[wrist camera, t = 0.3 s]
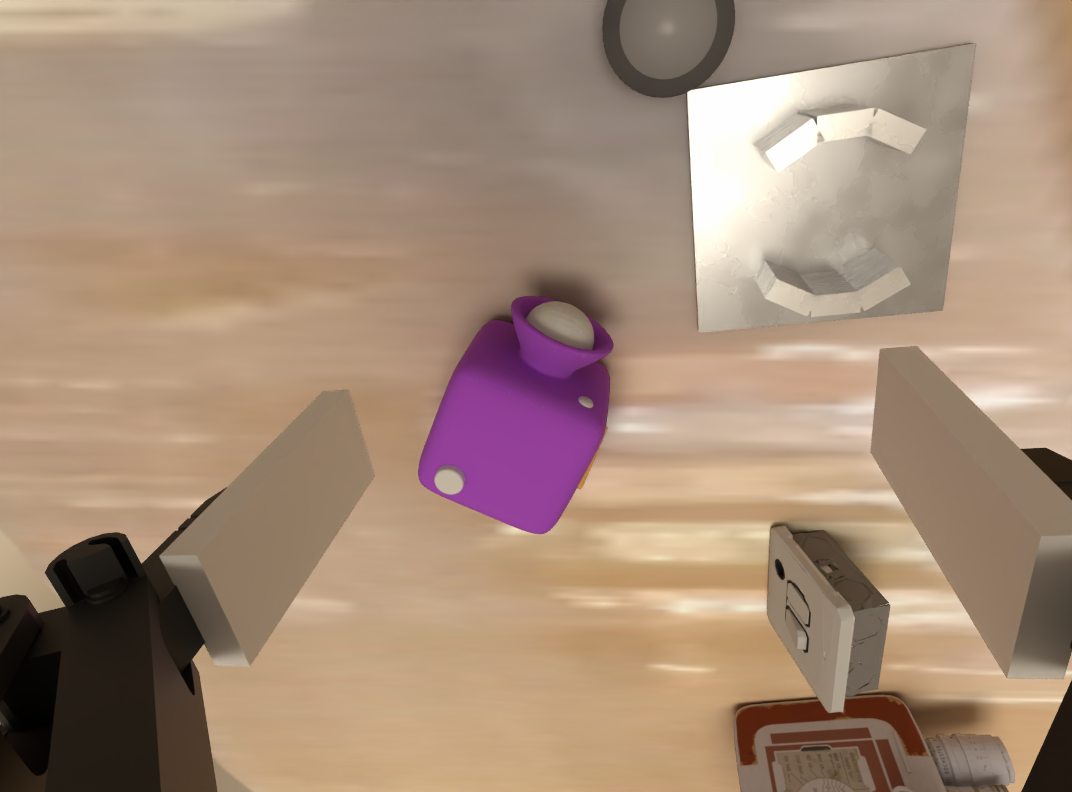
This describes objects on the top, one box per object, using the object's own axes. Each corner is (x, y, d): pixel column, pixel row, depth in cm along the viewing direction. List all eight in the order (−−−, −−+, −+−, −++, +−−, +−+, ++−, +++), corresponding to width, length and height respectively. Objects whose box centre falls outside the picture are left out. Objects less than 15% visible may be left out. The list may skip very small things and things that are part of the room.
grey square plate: (686, 90, 35) (692, 93, 31) (970, 43, 32) (1018, 39, 28) (698, 329, 41) (704, 357, 37) (938, 307, 38) (974, 335, 34)
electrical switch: (769, 520, 47) (812, 615, 38) (842, 515, 46) (902, 610, 38) (765, 614, 51) (803, 719, 43) (832, 611, 50) (884, 716, 42)
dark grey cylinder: (601, -23, 33) (595, -38, 29) (720, -48, 32) (734, -67, 27) (613, 102, 36) (609, 107, 31) (724, 84, 35) (737, 86, 30)
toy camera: (638, 296, 41) (637, 359, 32) (588, 469, 47) (577, 561, 38) (474, 257, 41) (429, 308, 32) (447, 434, 48) (403, 517, 39)
